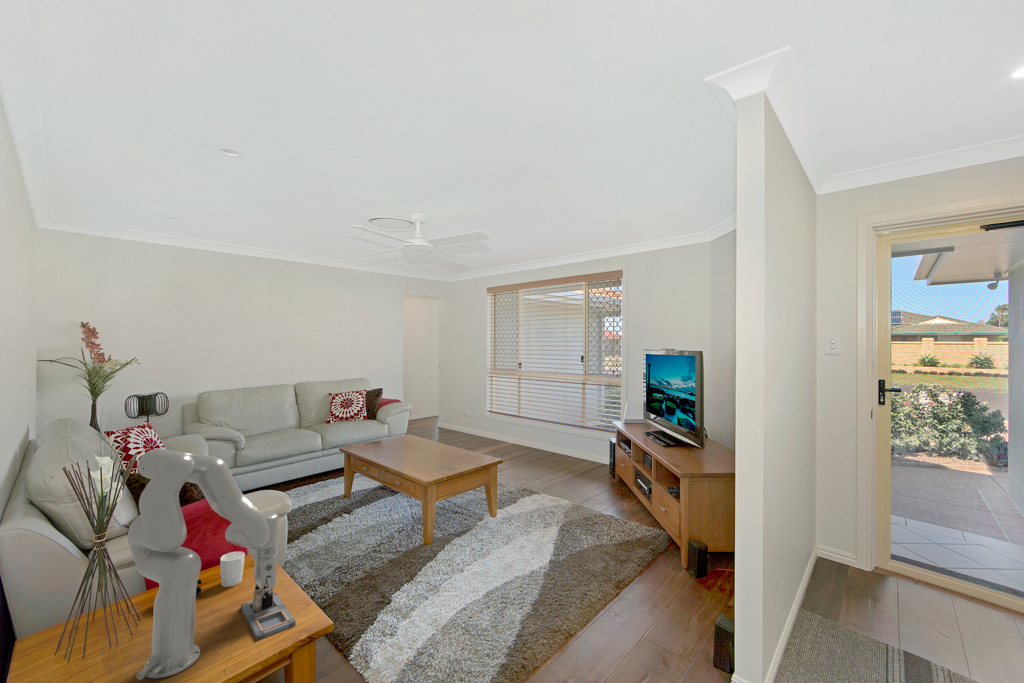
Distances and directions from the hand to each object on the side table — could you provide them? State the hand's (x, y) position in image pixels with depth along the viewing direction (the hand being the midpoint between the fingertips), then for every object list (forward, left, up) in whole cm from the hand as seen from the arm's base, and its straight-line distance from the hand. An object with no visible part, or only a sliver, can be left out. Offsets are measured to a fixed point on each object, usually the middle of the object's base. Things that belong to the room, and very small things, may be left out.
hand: (263, 602), depth 148 cm
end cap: (+4, +32, -3) cm, 33 cm away
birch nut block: (0, 0, -2) cm, 2 cm away
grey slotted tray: (-4, -4, -3) cm, 6 cm away
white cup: (+16, +22, -3) cm, 27 cm away
